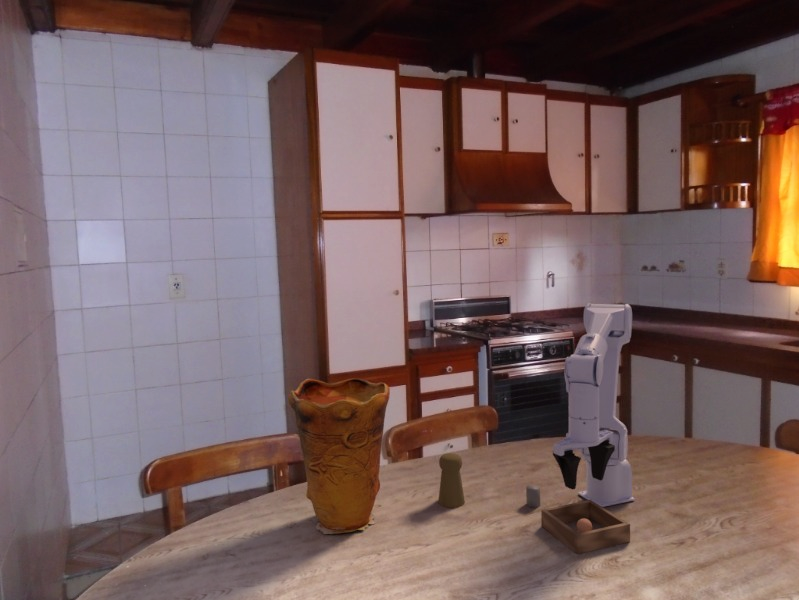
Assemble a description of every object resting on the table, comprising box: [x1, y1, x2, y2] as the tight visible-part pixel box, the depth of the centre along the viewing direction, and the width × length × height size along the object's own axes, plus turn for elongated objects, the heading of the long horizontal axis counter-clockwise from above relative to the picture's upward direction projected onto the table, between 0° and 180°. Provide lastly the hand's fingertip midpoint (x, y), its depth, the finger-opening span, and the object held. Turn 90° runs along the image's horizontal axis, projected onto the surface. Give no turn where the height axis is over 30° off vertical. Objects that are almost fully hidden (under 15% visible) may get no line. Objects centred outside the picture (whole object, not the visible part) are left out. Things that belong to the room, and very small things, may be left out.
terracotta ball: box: [576, 518, 593, 533], centre depth 118 cm, size 3×3×3 cm
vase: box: [288, 377, 391, 535], centre depth 124 cm, size 21×20×30 cm
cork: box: [438, 452, 466, 509], centre depth 134 cm, size 6×6×11 cm
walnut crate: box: [540, 499, 631, 555], centre depth 118 cm, size 12×12×4 cm
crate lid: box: [525, 484, 541, 509], centre depth 132 cm, size 13×13×5 cm
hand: (584, 483), depth 117 cm, fingers open, 7 cm apart
